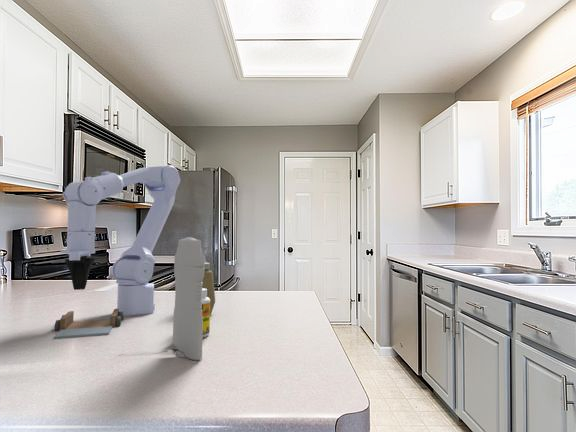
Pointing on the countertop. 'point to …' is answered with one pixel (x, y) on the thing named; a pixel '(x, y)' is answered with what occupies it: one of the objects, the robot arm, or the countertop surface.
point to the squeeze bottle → (209, 283)
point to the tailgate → (83, 332)
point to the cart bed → (68, 323)
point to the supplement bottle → (205, 313)
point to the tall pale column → (188, 299)
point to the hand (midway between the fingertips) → (79, 289)
